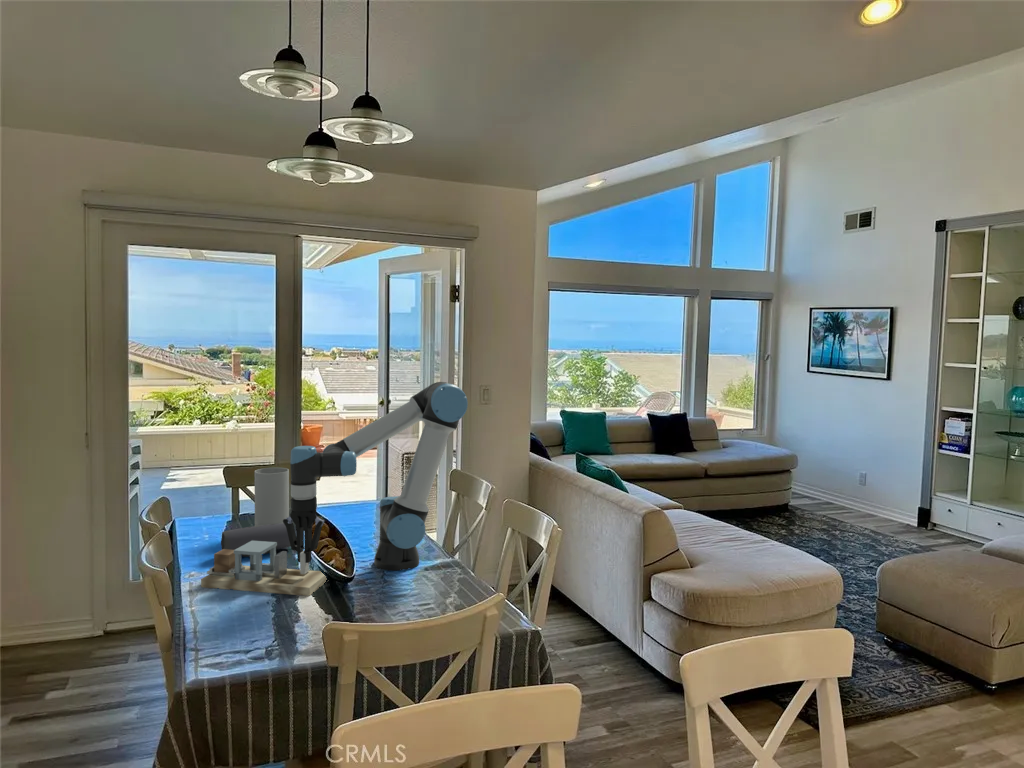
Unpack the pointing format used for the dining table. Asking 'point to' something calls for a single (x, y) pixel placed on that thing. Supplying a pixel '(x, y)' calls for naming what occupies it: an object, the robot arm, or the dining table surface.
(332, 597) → the dining table surface
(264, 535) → the bluetooth speaker
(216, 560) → the block
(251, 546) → the tunnel
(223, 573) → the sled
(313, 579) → the platform
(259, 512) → the cylinder vase
